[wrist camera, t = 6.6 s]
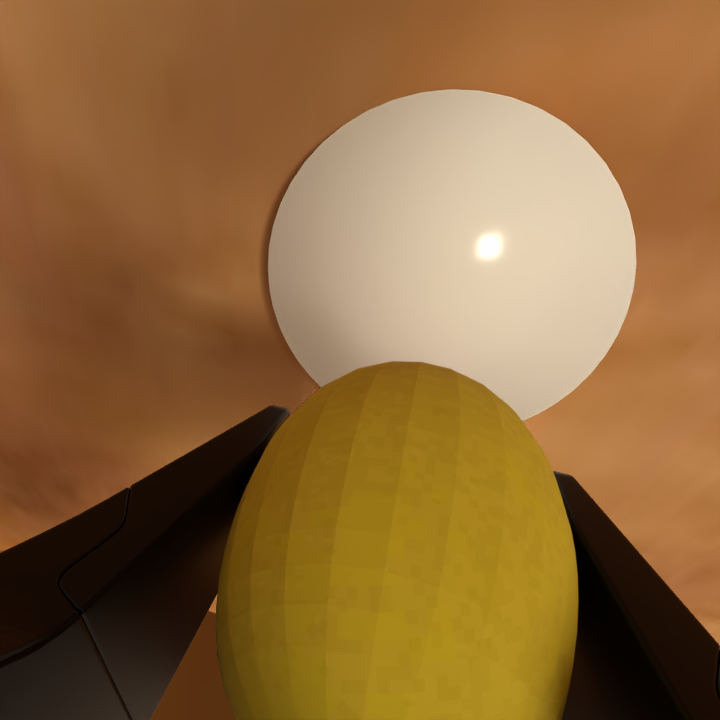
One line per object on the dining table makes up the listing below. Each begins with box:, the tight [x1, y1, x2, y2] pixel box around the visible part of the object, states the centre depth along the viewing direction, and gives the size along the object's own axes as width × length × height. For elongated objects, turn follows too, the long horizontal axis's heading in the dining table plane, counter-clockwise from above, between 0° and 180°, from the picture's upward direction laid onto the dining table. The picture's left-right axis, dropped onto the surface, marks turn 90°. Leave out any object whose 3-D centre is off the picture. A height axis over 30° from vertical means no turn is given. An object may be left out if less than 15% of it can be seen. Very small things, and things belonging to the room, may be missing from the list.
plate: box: [268, 89, 636, 421], centre depth 17 cm, size 14×14×1 cm
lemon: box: [216, 361, 578, 720], centre depth 7 cm, size 6×6×8 cm
